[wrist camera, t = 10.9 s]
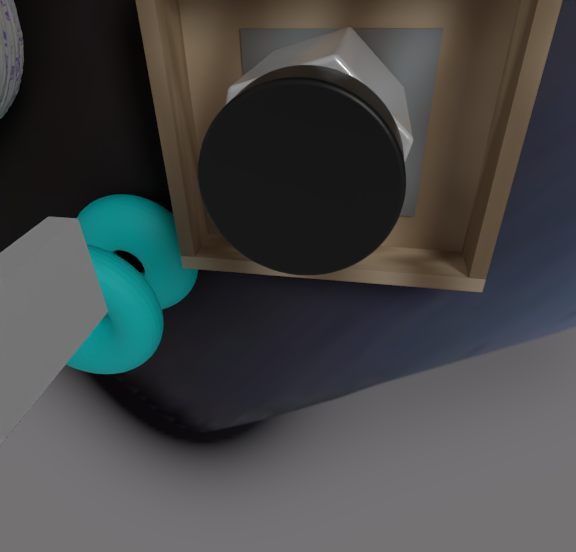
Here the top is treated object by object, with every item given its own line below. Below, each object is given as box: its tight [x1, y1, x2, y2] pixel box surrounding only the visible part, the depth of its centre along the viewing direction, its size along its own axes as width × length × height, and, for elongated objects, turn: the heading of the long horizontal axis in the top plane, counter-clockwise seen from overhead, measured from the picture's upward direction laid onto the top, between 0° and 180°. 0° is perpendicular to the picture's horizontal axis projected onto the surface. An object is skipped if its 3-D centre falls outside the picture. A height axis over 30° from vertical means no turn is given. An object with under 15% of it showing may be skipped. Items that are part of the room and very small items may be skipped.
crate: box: [136, 0, 562, 292], centre depth 27 cm, size 20×18×4 cm
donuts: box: [66, 194, 198, 374], centre depth 33 cm, size 10×10×10 cm
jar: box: [198, 27, 413, 276], centre depth 22 cm, size 9×8×12 cm
